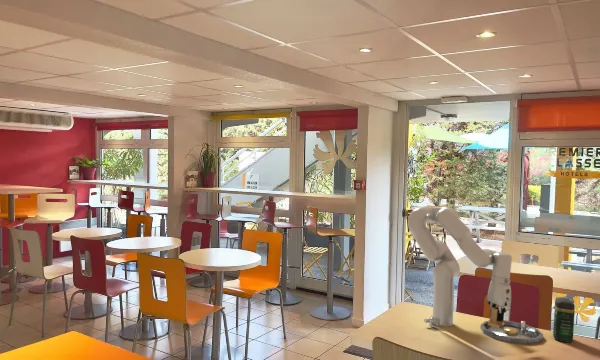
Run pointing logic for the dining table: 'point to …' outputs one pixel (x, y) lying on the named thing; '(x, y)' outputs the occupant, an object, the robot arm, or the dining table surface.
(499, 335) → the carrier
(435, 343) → the dining table surface
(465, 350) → the dining table surface
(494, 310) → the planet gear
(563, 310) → the coffee jar
